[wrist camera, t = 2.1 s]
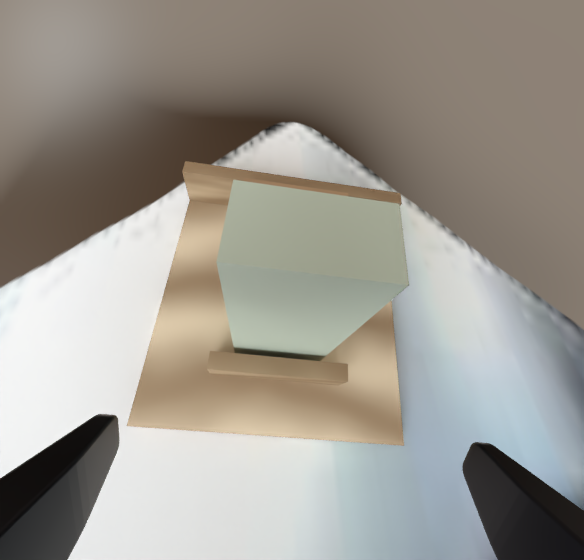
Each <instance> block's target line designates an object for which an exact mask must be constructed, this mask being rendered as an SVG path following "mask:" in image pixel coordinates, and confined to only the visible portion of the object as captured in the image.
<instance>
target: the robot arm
mask: <svg viewBox="0 0 584 560" xmlns="http://www.w3.org/2000/svg"><path fill="white" fill-rule="evenodd" d="M118 447H119V427H118V418H117V416H115V415H107V414H98V415H96V416H94V417H92V418H91V419H89V420H88V421H86V422H85V423H83V424H82V425H80V426H79V427H77V428H76V429H74V430H73V431H71V432H70V433H68V434H67V435H65V436H64V437H62V438H61V439H59V440H58V441H56V442H55V443H53V444H52V445H50V446H49V447H47V448H46V449H44V450H43V451H41V452H40V453H38V454H36V455H35V456H33V457H32V458H30V459H29V460H27V461H26V462H24V463H23V464H21V465H20V466H18V467H17V468H15V469H14V470H12V471H11V472H9V473H8V474H6V475H5V476H3V477H2V478H0V560H67V559H68V557H69V556H70V554H71V552H72V550H73V548H74V546H75V544H76V543H77V541H78V539H79V537H80V535H81V533H82V531H83V529H84V527H85V525H86V523H87V520H88V518H89V516H90V514H91V511H92V509H93V507H94V504H95V502H96V500H97V497H98V495H99V493H100V490H101V488H102V486H103V483H104V481H105V479H106V476H107V474H108V472H109V469H110V467H111V465H112V462H113V460H114V458H115V455H116V453H117V450H118ZM463 474H464V477H465V480H466V482H467V485H468V487H469V490H470V493H471V495H472V498H473V500H474V503H475V506H476V508H477V511H478V513H479V516H480V519H481V521H482V524H483V526H484V529H485V532H486V534H487V537H488V539H489V541H490V544H491V546H492V548H493V551H494V553H495V555H496V557H497V559H498V560H584V511H583V510H582V509H580V508H579V507H578V506H576V505H575V504H573V503H572V502H571V501H569V500H568V499H567V498H565V497H564V496H562V495H561V494H560V493H558V492H557V491H556V490H554V489H553V488H551V487H550V486H549V485H547V484H546V483H544V482H543V481H542V480H540V479H539V478H538V477H536V476H535V475H533V474H532V473H531V472H529V471H528V470H527V469H525V468H524V467H522V466H521V465H520V464H518V463H517V462H516V461H514V460H513V459H511V458H510V457H509V456H507V455H506V454H504V453H503V452H502V451H500V450H499V449H498V448H496V447H495V446H493V445H492V444H489V443H481V442H475V443H473V444H472V445H471V447H470V449H469V451H468V453H467V456H466V458H465V460H464V462H463Z"/></svg>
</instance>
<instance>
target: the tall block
mask: <svg viewBox="0 0 584 560" xmlns="http://www.w3.org/2000/svg"><path fill="white" fill-rule="evenodd" d="M216 263H217V268H218V273H219V278H220V282H221V287H222V292H223V297H224V302H225V307H226V312H227V317H228V322H229V327H230V332H231V337H232V342H233V347H234V352H235V353H238V354H249V355H260V356H270V357H281V358H291V359H302V360H312V361H321V360H322V359H323V358H324V357H325V356H327V355H328V354H329V353H330V352H331V351H332V350H334V349H335V348H336V347H337V346H338V345H339V344H341V343H342V342H343V341H344V340H345V339H347V338H348V337H349V336H350V335H351V334H352V333H354V332H355V331H356V330H357V329H358V328H359V327H361V326H362V325H363V324H364V323H365V322H366V321H368V320H369V319H370V318H371V317H372V316H373V315H375V314H376V313H377V312H378V311H379V310H381V309H382V308H383V307H384V306H385V305H386V304H388V303H389V302H390V301H391V300H392V299H393V298H395V297H396V296H397V295H398V294H399V293H400V292H402V291H403V290H404V289H405V288H406V287H407V286H409V281H408V273H407V264H406V255H405V247H404V238H403V230H402V221H401V213H400V204H397V203H390V202H384V201H377V200H370V199H363V198H356V197H349V196H342V195H336V194H329V193H322V192H315V191H308V190H301V189H294V188H288V187H281V186H274V185H267V184H260V183H253V182H246V181H240V180H233V183H232V188H231V193H230V198H229V203H228V208H227V212H226V217H225V222H224V227H223V232H222V237H221V242H220V247H219V251H218V256H217V261H216Z"/></svg>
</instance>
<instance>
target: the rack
mask: <svg viewBox="0 0 584 560" xmlns="http://www.w3.org/2000/svg"><path fill="white" fill-rule="evenodd" d="M183 176H184V180H185V184H186V188H187V191H188V195H189V199H190V202H189V205H188V209H187V212H186V216H185V220H184V223H183V227H182V230H181V234H180V237H179V241H178V245H177V248H176V252H175V255H174V259H173V262H172V266H171V270H170V273H169V277H168V280H167V284H166V288H165V291H164V295H163V298H162V302H161V305H160V309H159V313H158V316H157V320H156V323H155V327H154V330H153V334H152V338H151V341H150V345H149V348H148V352H147V356H146V359H145V363H144V366H143V370H142V373H141V377H140V381H139V384H138V388H137V391H136V395H135V398H134V402H133V406H132V409H131V413H130V416H129V420H128V424H127V426H134V427H148V428H163V429H177V430H191V431H205V432H219V433H233V434H247V435H261V436H275V437H290V438H304V439H318V440H332V441H346V442H360V443H374V444H388V445H402V446H404V441H403V430H402V418H401V406H400V395H399V383H398V372H397V360H396V348H395V337H394V325H393V313H392V302H391V301H390V302H389V303H388V304H386V305H385V306H384V307H383V308H382V309H381V310H379V311H378V312H377V313H376V314H375V315H373V316H372V317H371V318H370V319H369V320H368V321H366V322H365V323H364V324H363V325H362V326H361V327H359V328H358V329H357V330H356V331H355V332H354V333H352V334H351V335H350V336H349V337H348V338H347V339H345V340H344V341H343V342H342V343H341V344H339V345H338V346H337V347H336V348H335V349H334V350H332V351H331V352H330V353H329V354H328V355H327V356H325V357H324V358H323V359H322V360H321V361H312V360H302V359H291V358H281V357H270V356H260V355H249V354H238V353H235V352H234V347H233V342H232V337H231V332H230V327H229V322H228V317H227V312H226V307H225V302H224V297H223V292H222V287H221V282H220V278H219V273H218V268H217V263H216V261H217V256H218V251H219V247H220V242H221V237H222V232H223V227H224V222H225V217H226V212H227V208H228V203H229V198H230V193H231V188H232V183H233V180H240V181H243V180H244V178H249V179H256V180H262V181H269V182H276V183H283V184H290V185H296V186H303V187H310V188H317V189H324V190H330V191H337V192H344V193H348V196H349V197H356V198H363V199H370V200H377V201H384V202H390V203H397V204H400V205H401V204H402V203H401V194H400V193H395V192H388V191H382V190H375V189H368V188H362V187H355V186H348V185H341V184H335V183H328V182H321V181H315V180H308V179H301V178H295V177H288V176H281V175H274V174H268V173H261V172H254V171H248V170H241V169H234V168H227V167H221V166H214V165H207V164H201V163H194V162H186V161H185V164H184V168H183Z"/></svg>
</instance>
